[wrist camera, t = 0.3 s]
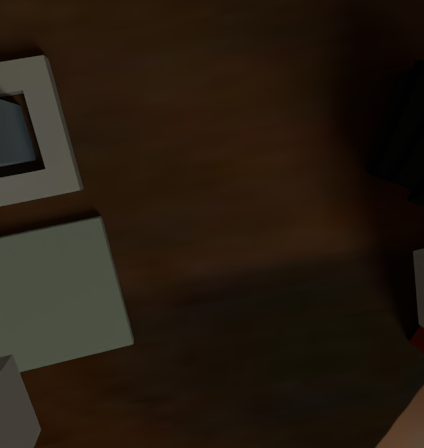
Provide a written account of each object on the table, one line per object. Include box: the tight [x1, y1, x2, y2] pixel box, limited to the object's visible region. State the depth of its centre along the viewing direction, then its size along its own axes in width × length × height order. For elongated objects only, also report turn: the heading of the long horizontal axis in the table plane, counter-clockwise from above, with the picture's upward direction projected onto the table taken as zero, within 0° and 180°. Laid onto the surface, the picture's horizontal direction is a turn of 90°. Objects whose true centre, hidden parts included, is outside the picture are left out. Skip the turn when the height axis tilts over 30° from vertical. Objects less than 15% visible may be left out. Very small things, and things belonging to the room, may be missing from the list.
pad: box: [0, 216, 134, 372], centre depth 37 cm, size 14×14×1 cm
